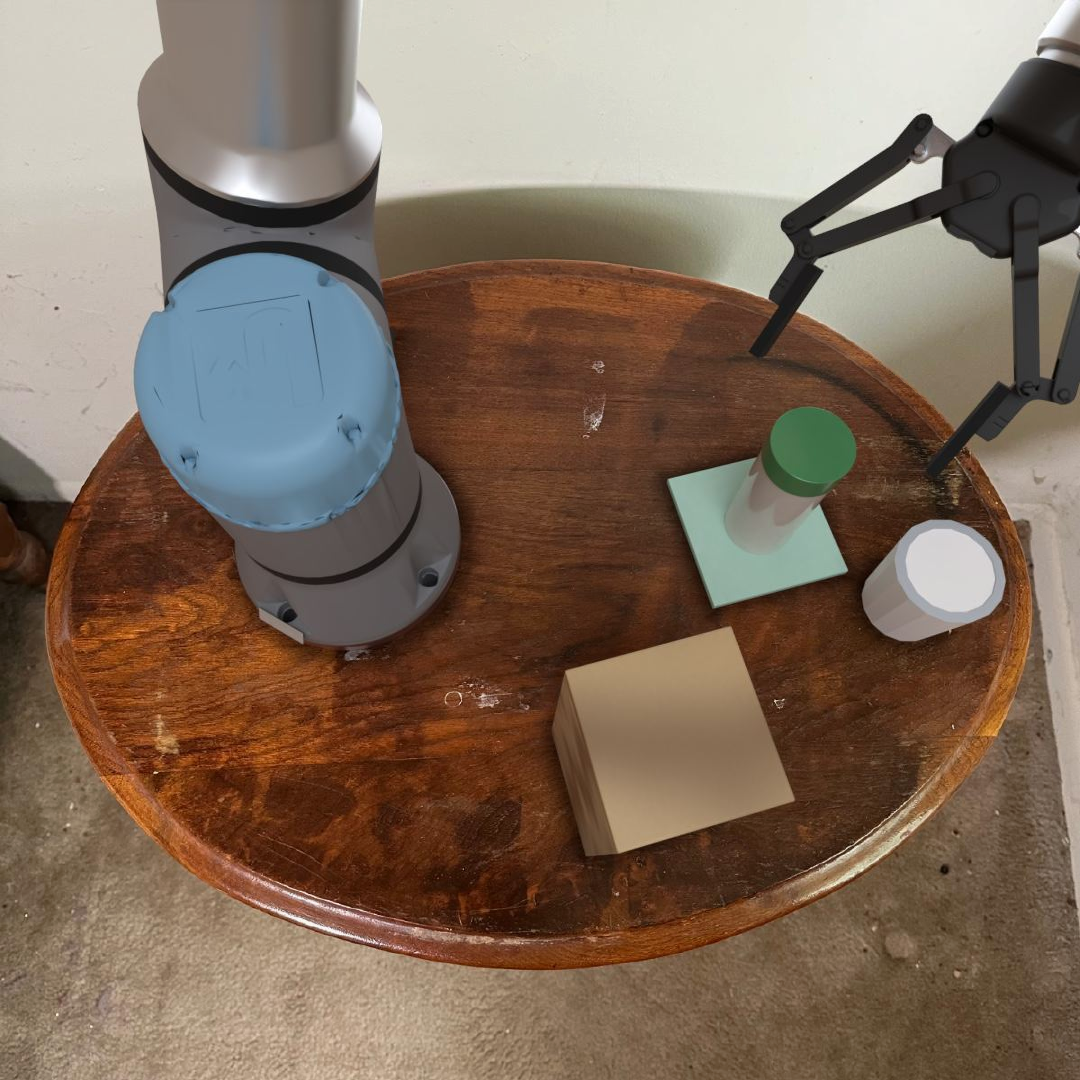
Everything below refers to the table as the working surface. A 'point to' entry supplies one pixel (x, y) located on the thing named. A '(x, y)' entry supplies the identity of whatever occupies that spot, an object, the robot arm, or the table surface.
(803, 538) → the mat
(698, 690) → the plinth
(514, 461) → the table surface
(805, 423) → the cylinder
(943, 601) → the grey white cylinder
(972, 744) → the table surface
